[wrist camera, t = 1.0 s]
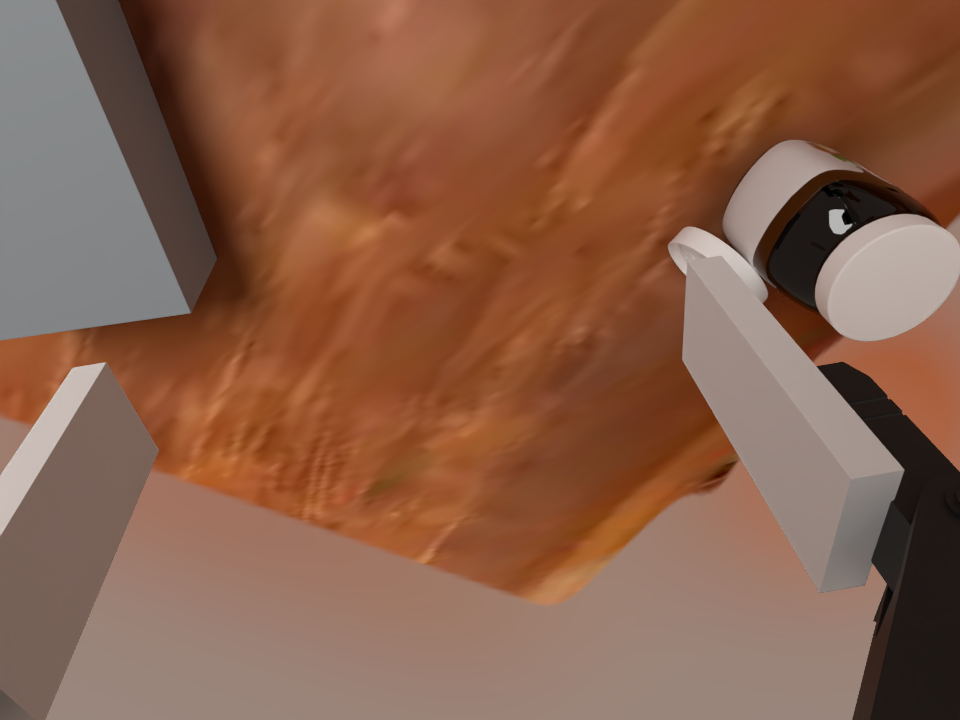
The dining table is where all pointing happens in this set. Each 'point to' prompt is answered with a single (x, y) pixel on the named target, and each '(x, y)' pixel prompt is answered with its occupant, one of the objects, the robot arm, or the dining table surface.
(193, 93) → the dining table surface
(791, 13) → the dining table surface
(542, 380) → the dining table surface
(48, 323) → the low overhang
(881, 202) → the spread jar
